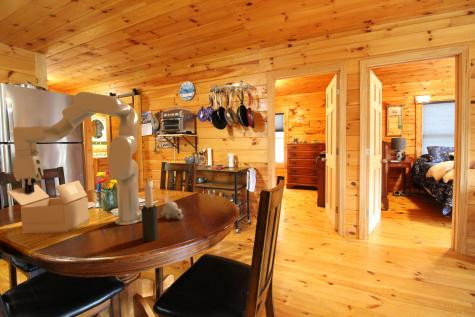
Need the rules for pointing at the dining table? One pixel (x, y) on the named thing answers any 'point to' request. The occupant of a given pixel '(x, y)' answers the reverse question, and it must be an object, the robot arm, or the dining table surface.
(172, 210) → the chubby cartoon animal
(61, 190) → the flap
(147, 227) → the candle
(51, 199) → the carton
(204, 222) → the dining table surface
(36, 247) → the dining table surface
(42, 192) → the flap
